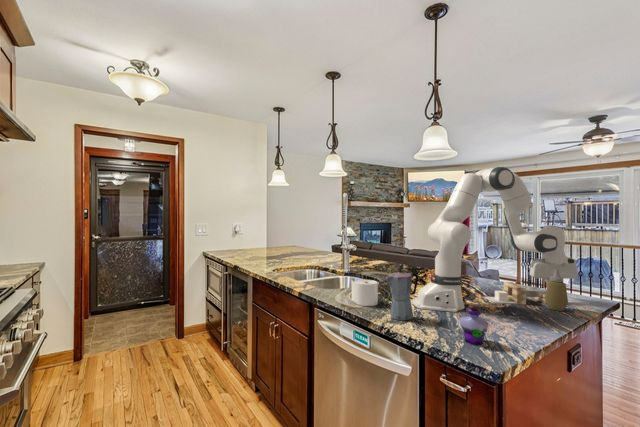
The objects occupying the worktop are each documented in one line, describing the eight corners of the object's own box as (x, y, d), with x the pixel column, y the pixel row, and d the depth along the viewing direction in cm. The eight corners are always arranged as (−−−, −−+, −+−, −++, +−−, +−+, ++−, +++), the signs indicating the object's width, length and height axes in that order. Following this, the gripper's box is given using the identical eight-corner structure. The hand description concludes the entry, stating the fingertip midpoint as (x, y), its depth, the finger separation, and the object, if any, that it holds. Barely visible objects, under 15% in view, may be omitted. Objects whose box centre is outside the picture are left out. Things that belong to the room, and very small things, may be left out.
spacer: (507, 301, 144) (499, 301, 145) (503, 298, 149) (494, 298, 149) (508, 293, 144) (499, 292, 145) (503, 290, 149) (494, 290, 149)
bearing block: (517, 304, 141) (517, 287, 141) (503, 297, 153) (503, 281, 153) (525, 304, 141) (526, 287, 141) (511, 297, 153) (511, 282, 153)
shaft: (516, 297, 145) (516, 280, 145) (511, 294, 149) (511, 278, 149) (559, 298, 143) (559, 281, 143) (553, 295, 147) (553, 279, 147)
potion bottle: (470, 348, 93) (470, 309, 93) (453, 337, 102) (454, 302, 102) (495, 346, 95) (495, 308, 95) (476, 335, 103) (476, 301, 103)
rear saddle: (545, 304, 142) (545, 295, 142) (534, 299, 150) (534, 291, 150) (554, 304, 142) (554, 295, 142) (543, 299, 149) (543, 291, 150)
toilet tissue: (379, 306, 135) (379, 284, 135) (352, 306, 136) (353, 284, 136) (375, 300, 146) (375, 279, 146) (351, 299, 146) (351, 279, 147)
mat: (494, 303, 143) (494, 302, 143) (484, 297, 153) (484, 296, 153) (515, 303, 142) (515, 302, 142) (504, 297, 152) (504, 297, 152)
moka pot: (379, 315, 123) (380, 267, 123) (409, 311, 129) (409, 265, 129) (394, 323, 114) (394, 271, 115) (425, 318, 120) (425, 268, 121)
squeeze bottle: (572, 312, 129) (572, 271, 129) (551, 311, 131) (551, 270, 131) (561, 307, 137) (561, 268, 137) (541, 306, 139) (541, 267, 139)
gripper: (534, 259, 143) (534, 288, 143) (580, 260, 142) (580, 289, 141) (526, 257, 150) (526, 285, 149) (570, 258, 148) (570, 286, 148)
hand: (553, 287), depth 145 cm, fingers closed on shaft, 2 cm apart
